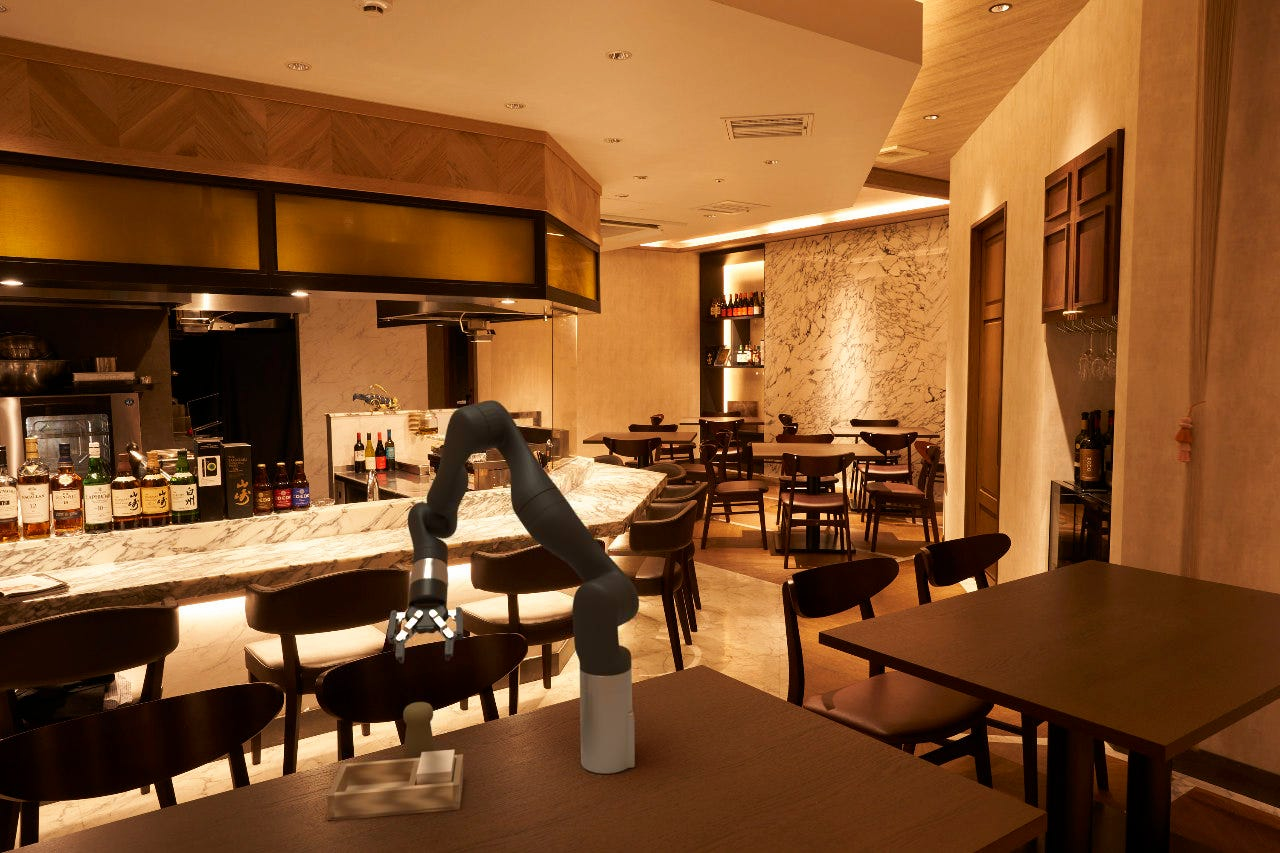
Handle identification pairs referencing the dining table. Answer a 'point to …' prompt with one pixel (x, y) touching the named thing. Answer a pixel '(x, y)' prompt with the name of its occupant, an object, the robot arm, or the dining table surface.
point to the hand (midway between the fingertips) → (424, 660)
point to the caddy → (397, 786)
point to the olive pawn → (418, 730)
